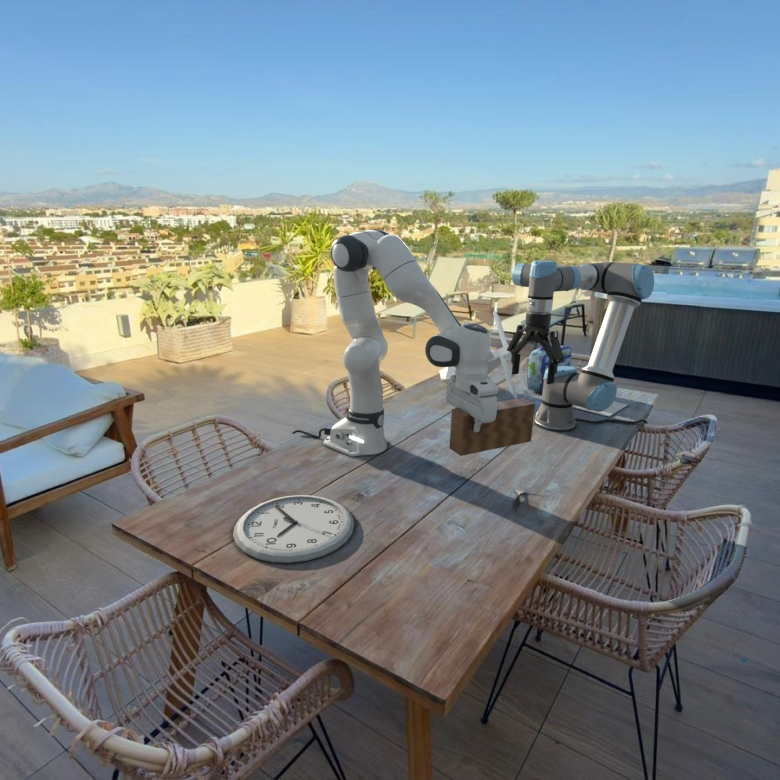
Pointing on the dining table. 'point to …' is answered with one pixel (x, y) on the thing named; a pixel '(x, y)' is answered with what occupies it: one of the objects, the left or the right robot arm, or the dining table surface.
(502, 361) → the white plastic object
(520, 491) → the fork
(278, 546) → the wall clock
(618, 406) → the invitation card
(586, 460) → the dining table surface
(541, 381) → the lunch box
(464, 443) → the box
